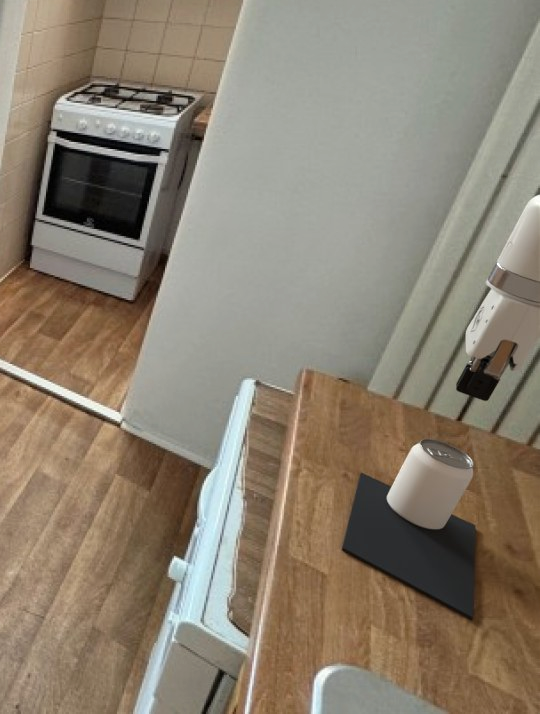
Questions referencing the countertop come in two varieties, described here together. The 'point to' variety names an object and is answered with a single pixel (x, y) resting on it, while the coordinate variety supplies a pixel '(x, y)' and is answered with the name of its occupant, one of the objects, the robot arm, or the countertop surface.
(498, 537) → the countertop surface
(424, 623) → the countertop surface
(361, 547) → the mat
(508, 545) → the countertop surface
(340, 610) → the countertop surface
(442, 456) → the can
